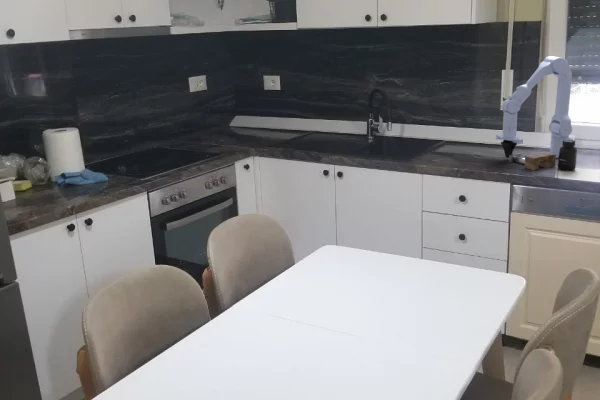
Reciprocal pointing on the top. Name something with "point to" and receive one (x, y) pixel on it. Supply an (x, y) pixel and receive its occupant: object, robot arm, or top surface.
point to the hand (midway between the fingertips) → (508, 157)
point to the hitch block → (540, 160)
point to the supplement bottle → (567, 156)
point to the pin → (516, 158)
